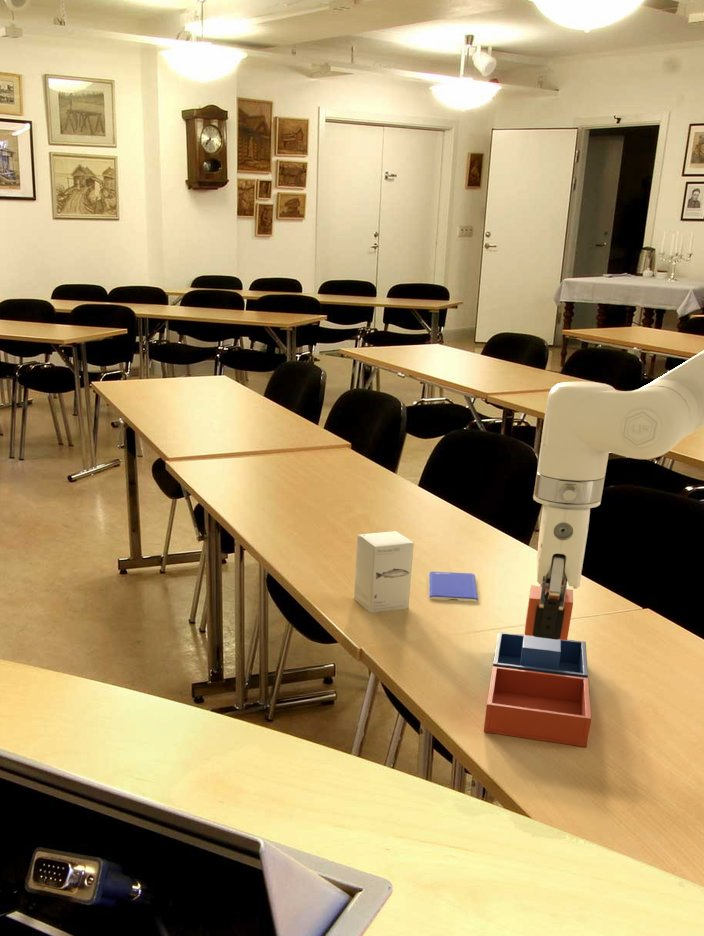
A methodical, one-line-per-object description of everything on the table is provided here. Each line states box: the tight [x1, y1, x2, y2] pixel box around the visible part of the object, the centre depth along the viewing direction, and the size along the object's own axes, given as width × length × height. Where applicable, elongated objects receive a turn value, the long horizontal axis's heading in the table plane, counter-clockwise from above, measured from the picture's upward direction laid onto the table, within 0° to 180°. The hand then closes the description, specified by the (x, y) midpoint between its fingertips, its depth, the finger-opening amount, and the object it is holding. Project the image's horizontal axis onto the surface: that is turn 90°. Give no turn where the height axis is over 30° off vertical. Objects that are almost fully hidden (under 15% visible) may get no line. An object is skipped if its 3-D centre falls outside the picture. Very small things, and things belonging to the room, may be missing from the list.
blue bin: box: [492, 631, 589, 679], centre depth 131 cm, size 12×12×4 cm
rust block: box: [523, 584, 574, 640], centre depth 115 cm, size 5×5×5 cm
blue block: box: [520, 634, 561, 670], centre depth 130 cm, size 5×5×5 cm
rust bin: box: [483, 665, 592, 748], centre depth 119 cm, size 12×12×4 cm
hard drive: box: [428, 571, 479, 603], centre depth 164 cm, size 2×8×12 cm
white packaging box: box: [353, 530, 415, 614], centre depth 156 cm, size 7×7×13 cm
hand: (546, 627), depth 116 cm, fingers closed on rust block, 5 cm apart
